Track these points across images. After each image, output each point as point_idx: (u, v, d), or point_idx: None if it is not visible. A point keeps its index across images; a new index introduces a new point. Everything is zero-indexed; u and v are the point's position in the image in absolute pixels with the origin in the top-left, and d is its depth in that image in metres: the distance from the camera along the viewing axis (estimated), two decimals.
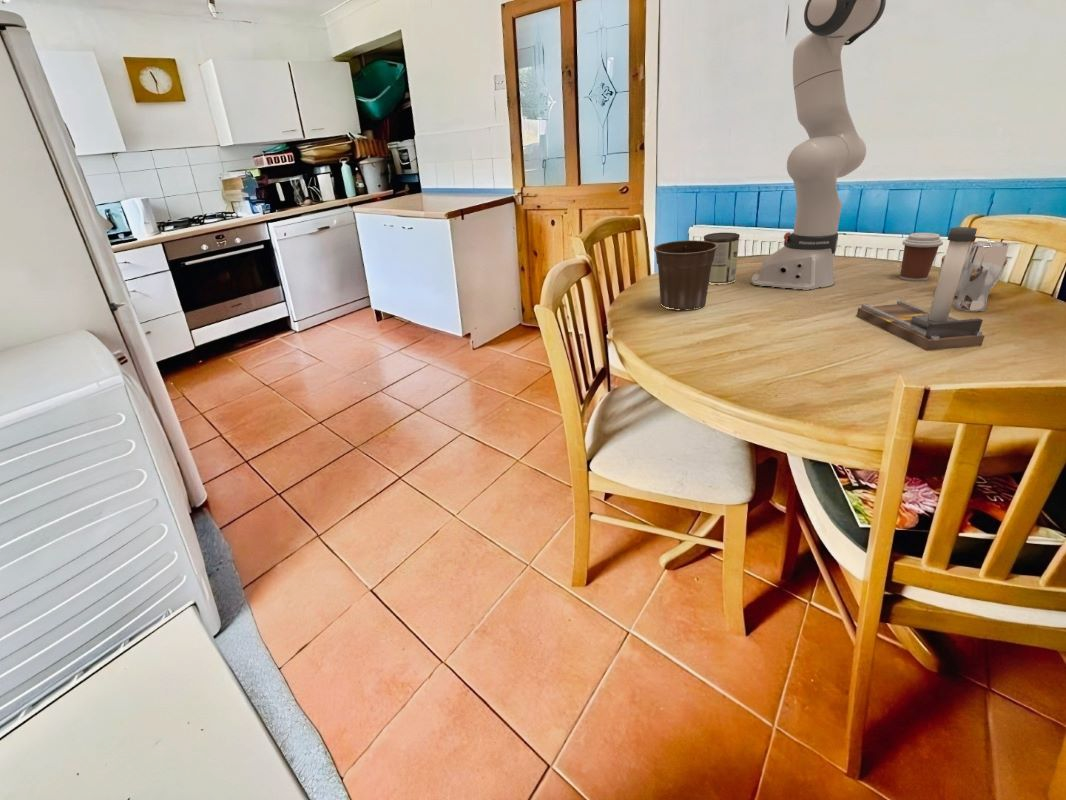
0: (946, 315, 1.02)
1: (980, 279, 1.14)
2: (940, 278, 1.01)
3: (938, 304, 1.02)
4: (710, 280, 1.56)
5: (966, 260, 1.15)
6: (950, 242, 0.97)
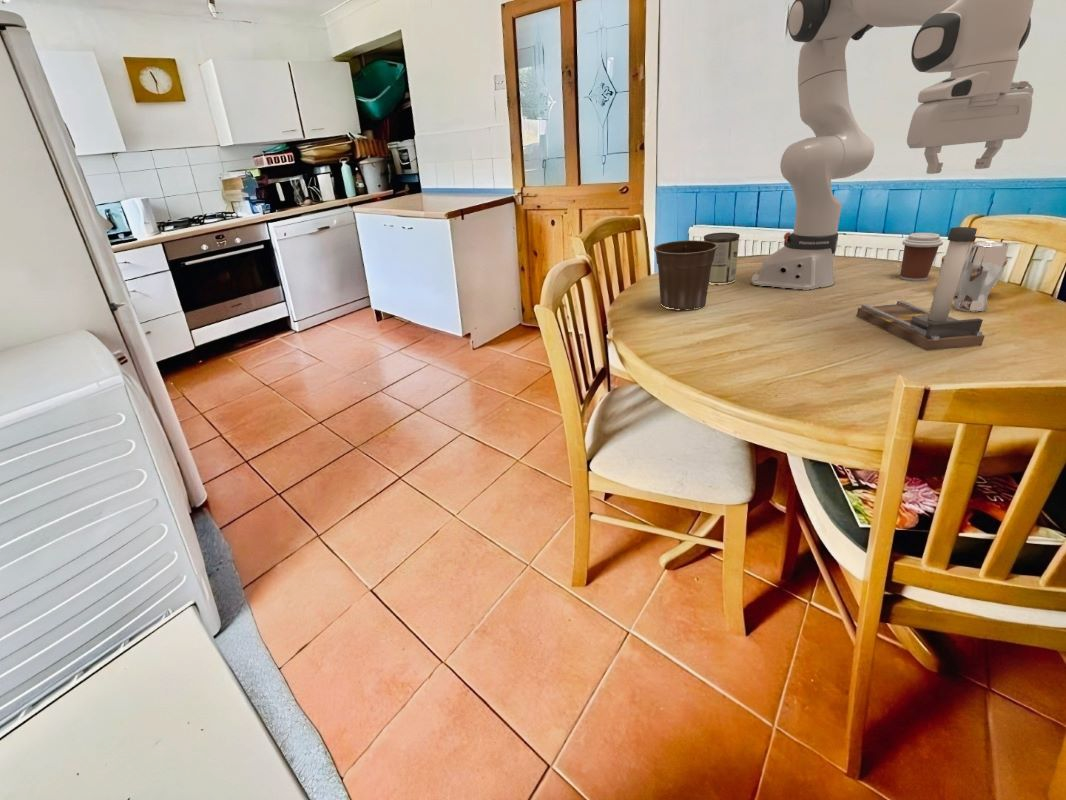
0: (946, 315, 1.02)
1: (980, 279, 1.14)
2: (940, 278, 1.01)
3: (938, 304, 1.02)
4: (710, 280, 1.56)
5: (966, 260, 1.15)
6: (950, 242, 0.97)
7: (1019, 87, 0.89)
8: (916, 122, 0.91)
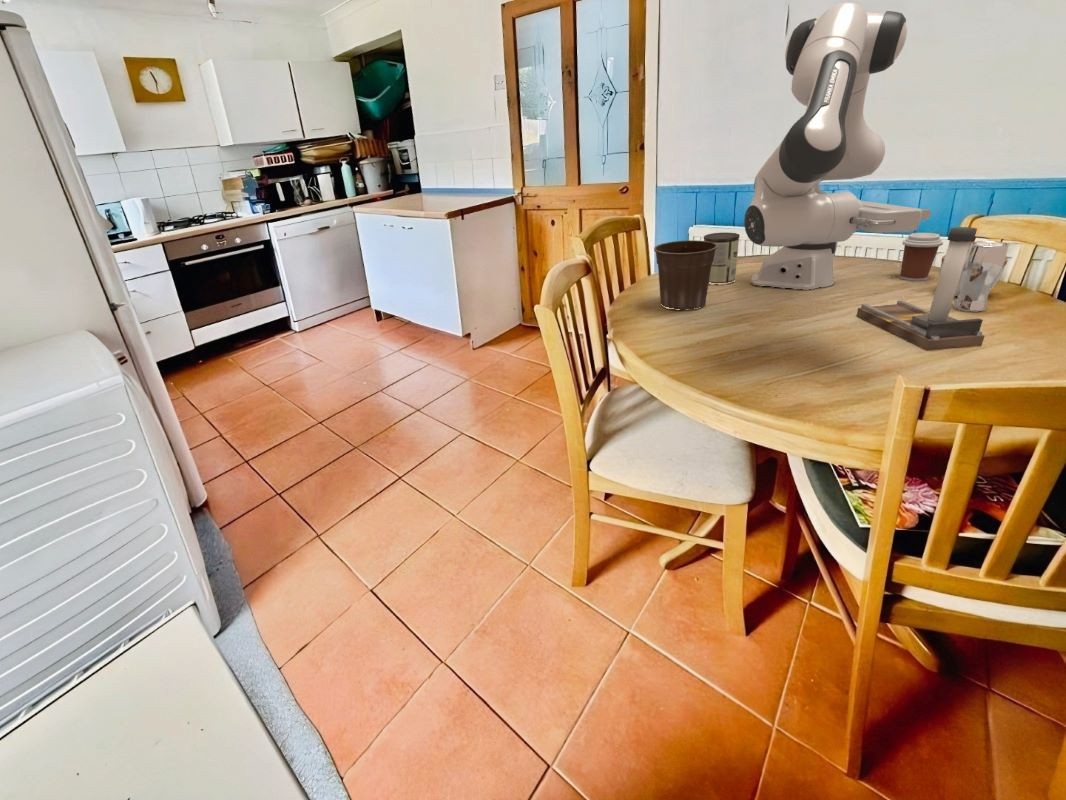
0: (946, 315, 1.02)
1: (980, 279, 1.14)
2: (940, 278, 1.01)
3: (938, 304, 1.02)
4: (710, 280, 1.56)
5: (966, 260, 1.15)
6: (950, 242, 0.97)
7: None
8: None
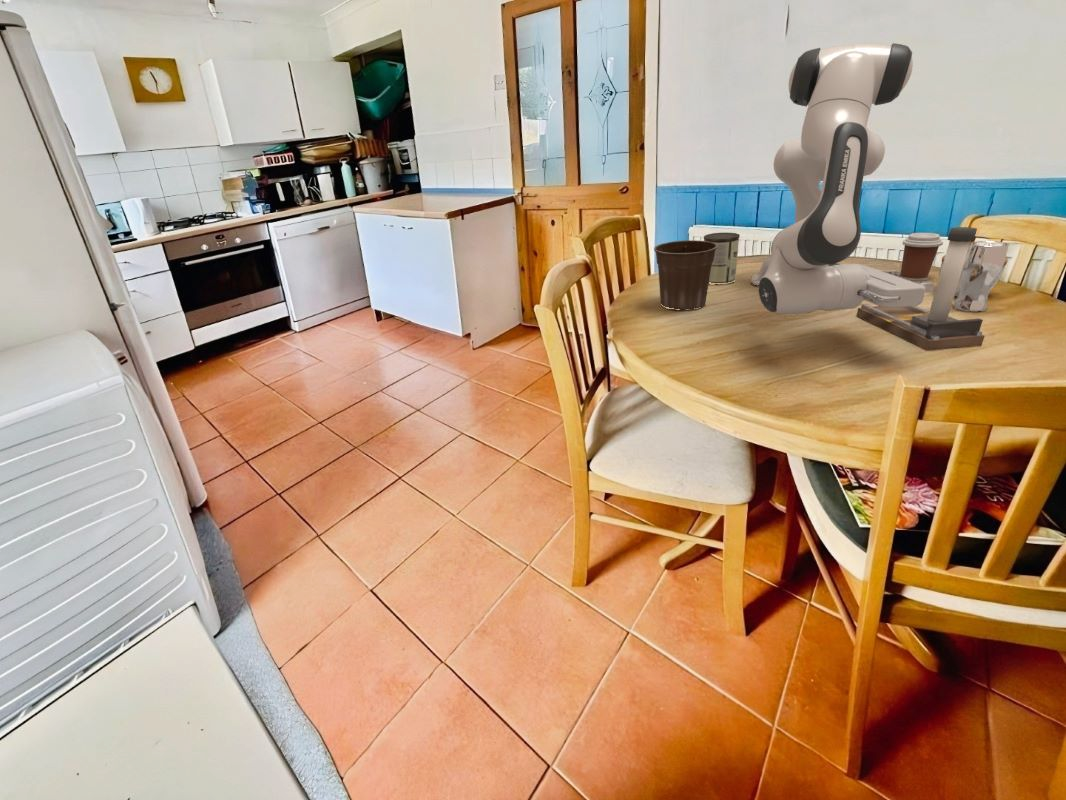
0: (946, 315, 1.02)
1: (980, 279, 1.14)
2: (940, 278, 1.01)
3: (938, 304, 1.02)
4: (710, 280, 1.56)
5: (966, 260, 1.15)
6: (950, 242, 0.97)
7: None
8: None
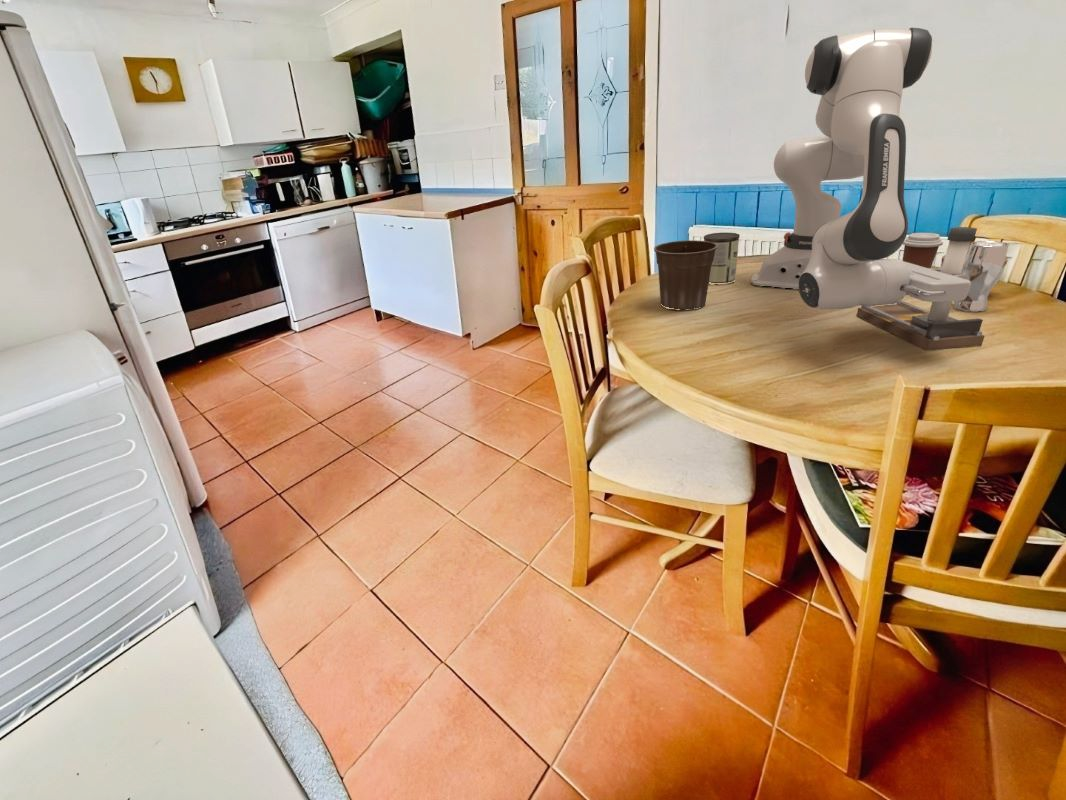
0: (946, 315, 1.02)
1: (980, 279, 1.14)
2: None
3: (938, 304, 1.02)
4: (710, 280, 1.56)
5: (966, 260, 1.15)
6: (950, 242, 0.97)
7: None
8: None
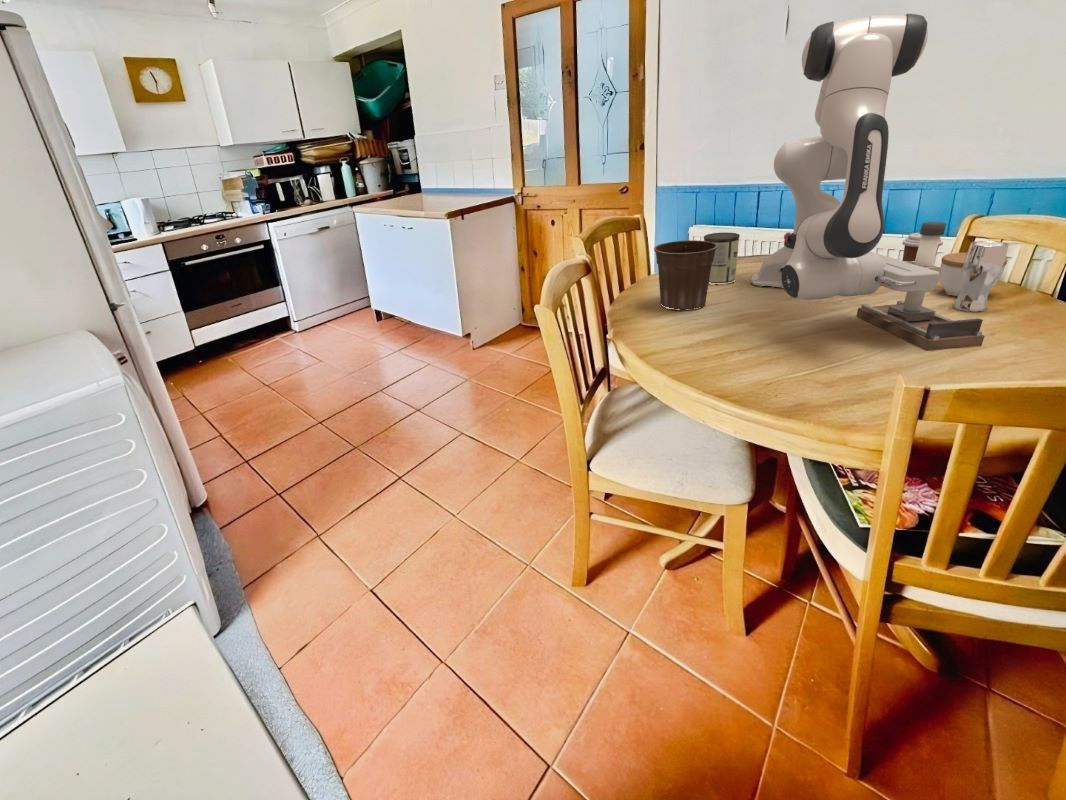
0: (919, 305, 1.09)
1: (980, 279, 1.14)
2: None
3: (912, 294, 1.08)
4: (710, 280, 1.56)
5: (966, 260, 1.15)
6: (922, 236, 1.04)
7: None
8: None
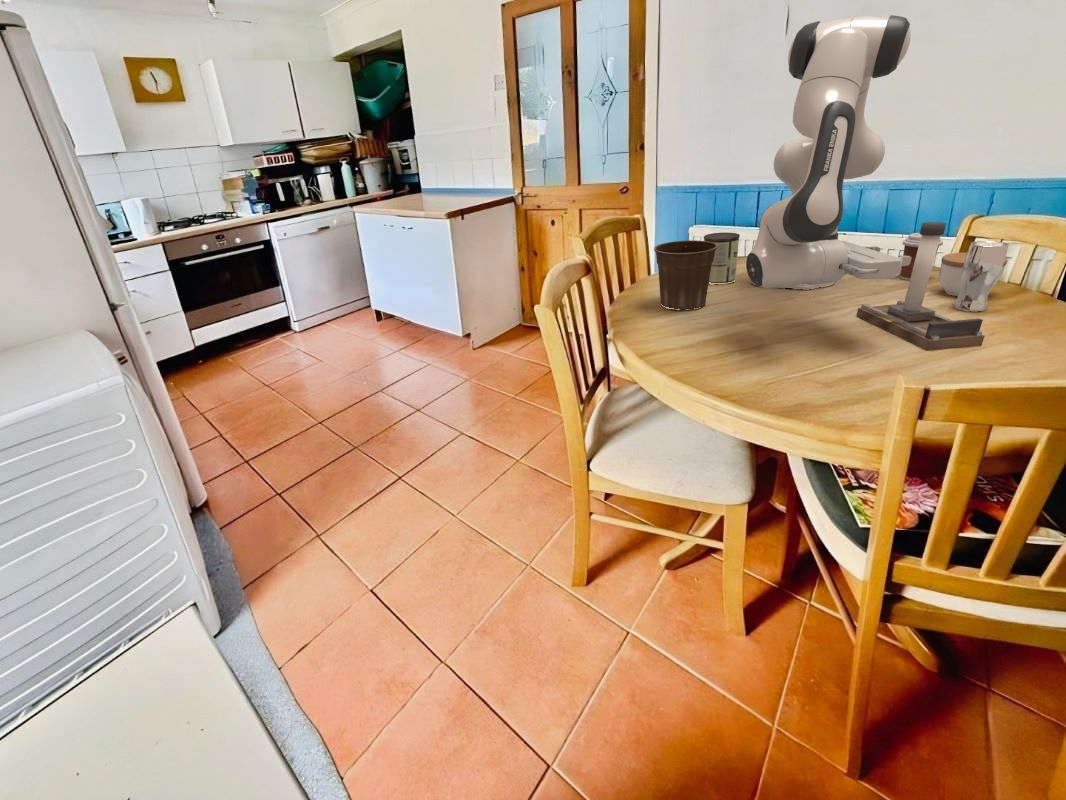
0: (919, 305, 1.09)
1: (980, 279, 1.14)
2: (913, 270, 1.07)
3: (912, 294, 1.08)
4: (710, 280, 1.56)
5: (966, 260, 1.15)
6: (922, 236, 1.04)
7: None
8: None
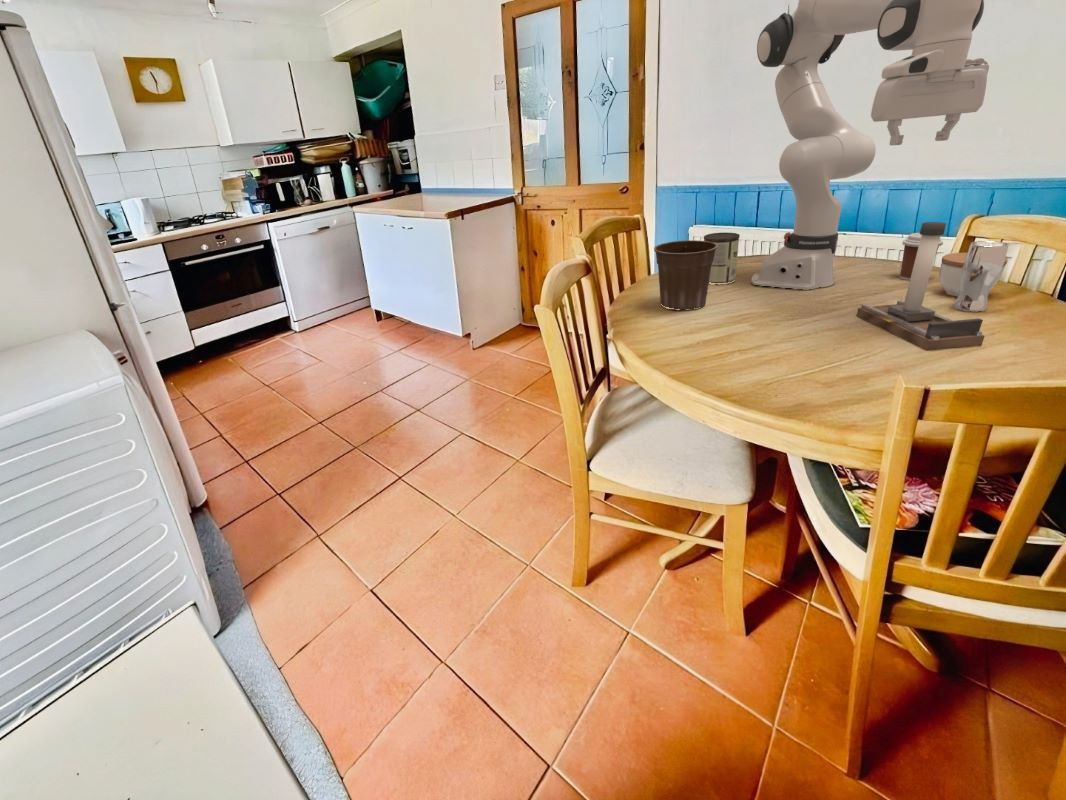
0: (919, 305, 1.09)
1: (980, 279, 1.14)
2: (913, 270, 1.07)
3: (912, 294, 1.08)
4: (710, 280, 1.56)
5: (966, 260, 1.15)
6: (922, 236, 1.04)
7: (975, 64, 0.96)
8: (879, 97, 0.99)
